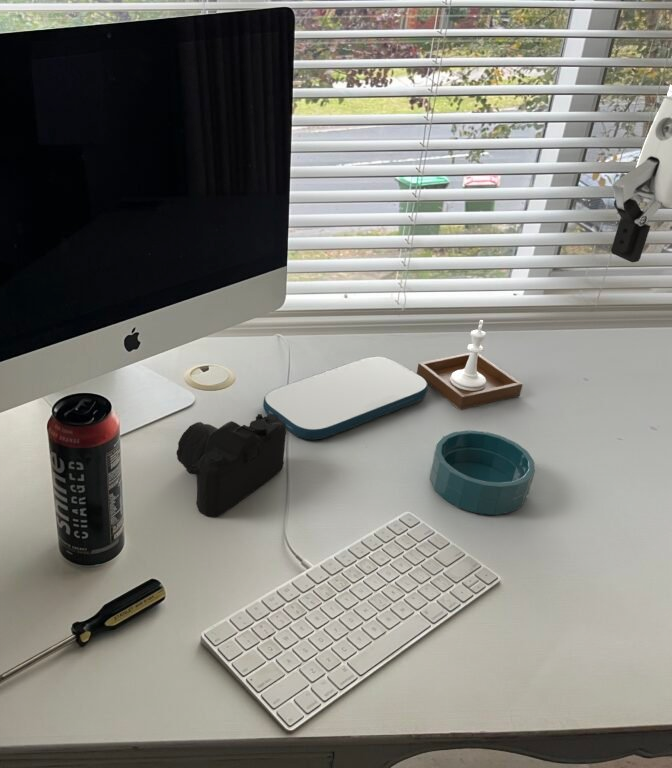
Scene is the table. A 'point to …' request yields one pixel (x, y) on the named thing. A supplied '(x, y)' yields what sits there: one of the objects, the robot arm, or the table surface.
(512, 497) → the dish
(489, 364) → the tray
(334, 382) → the external hard drive
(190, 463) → the film camera
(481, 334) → the chess piece
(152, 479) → the table surface
